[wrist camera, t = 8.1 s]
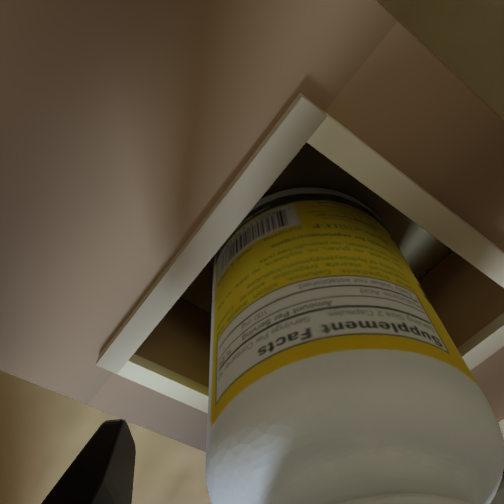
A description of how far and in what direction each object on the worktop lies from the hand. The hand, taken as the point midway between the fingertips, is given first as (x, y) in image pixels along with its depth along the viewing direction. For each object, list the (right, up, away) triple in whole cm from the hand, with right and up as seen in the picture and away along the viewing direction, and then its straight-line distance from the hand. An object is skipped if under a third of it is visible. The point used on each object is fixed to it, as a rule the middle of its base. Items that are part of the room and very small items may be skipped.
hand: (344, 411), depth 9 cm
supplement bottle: (0, +3, +5) cm, 6 cm away
